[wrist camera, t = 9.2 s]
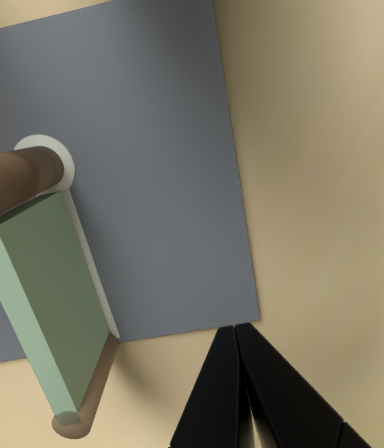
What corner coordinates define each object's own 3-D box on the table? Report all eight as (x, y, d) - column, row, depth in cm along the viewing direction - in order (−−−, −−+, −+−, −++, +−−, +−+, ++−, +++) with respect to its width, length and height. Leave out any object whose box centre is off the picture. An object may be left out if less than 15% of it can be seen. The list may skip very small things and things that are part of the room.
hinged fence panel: (66, 190, 18) (5, 225, 12) (121, 352, 21) (95, 436, 16) (33, 196, 18) (-42, 234, 12) (94, 356, 22) (59, 441, 16)
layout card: (-284, 101, 17) (-301, 101, 16) (208, -19, 15) (209, -24, 14) (-101, 373, 23) (-108, 380, 23) (258, 315, 21) (260, 321, 21)
